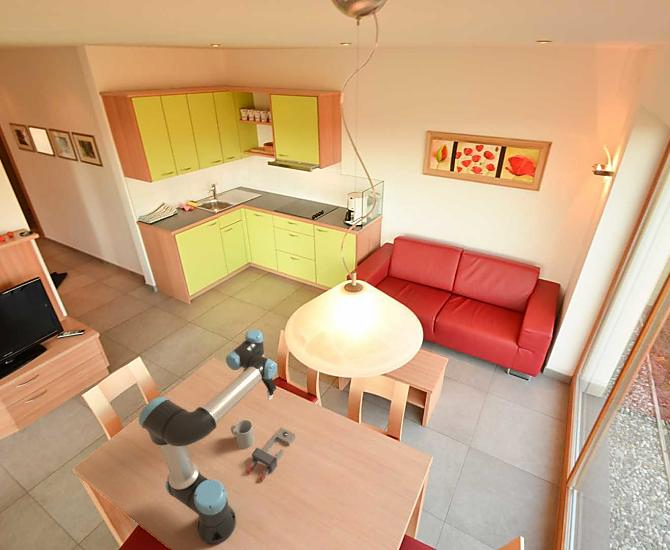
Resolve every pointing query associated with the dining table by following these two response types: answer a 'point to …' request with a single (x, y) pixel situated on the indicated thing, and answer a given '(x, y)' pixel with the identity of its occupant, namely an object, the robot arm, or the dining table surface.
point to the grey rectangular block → (265, 458)
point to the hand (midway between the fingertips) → (260, 392)
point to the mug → (243, 433)
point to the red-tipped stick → (269, 467)
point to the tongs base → (280, 435)
